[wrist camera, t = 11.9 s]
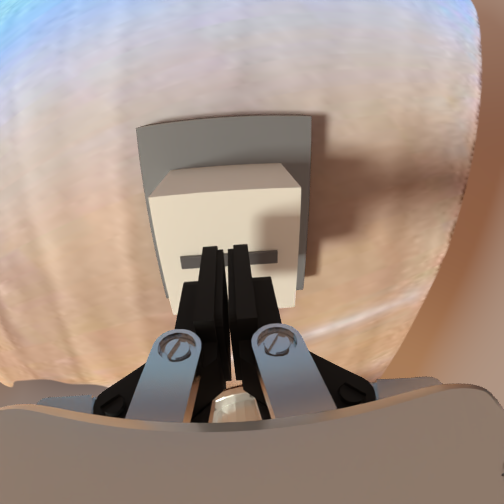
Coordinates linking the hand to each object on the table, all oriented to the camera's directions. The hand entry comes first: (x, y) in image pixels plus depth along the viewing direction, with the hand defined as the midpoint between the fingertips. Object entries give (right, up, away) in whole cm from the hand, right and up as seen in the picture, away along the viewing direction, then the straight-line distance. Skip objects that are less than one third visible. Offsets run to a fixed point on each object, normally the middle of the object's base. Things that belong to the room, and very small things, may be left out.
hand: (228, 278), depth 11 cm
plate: (-1, +4, +8) cm, 9 cm away
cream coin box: (0, +3, +6) cm, 7 cm away
